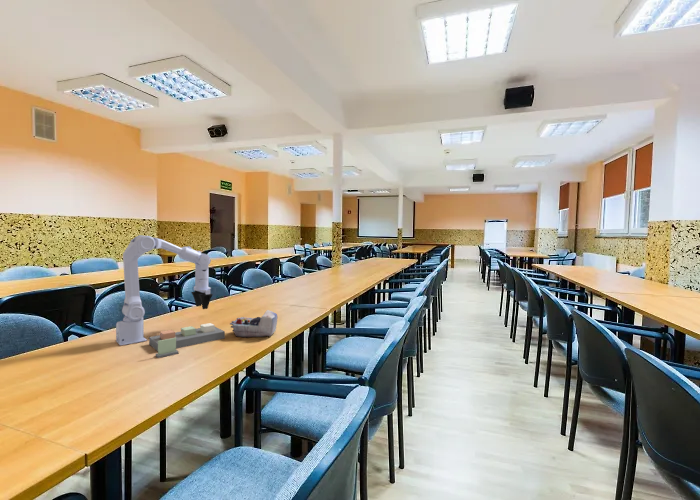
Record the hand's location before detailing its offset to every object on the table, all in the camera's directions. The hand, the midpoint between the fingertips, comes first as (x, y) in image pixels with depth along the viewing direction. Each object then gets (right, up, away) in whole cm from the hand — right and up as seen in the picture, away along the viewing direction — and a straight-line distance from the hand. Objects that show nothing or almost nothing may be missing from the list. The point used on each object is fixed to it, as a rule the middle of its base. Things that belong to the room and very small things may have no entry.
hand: (201, 307), depth 160 cm
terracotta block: (-3, -10, -24) cm, 26 cm away
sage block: (+2, -10, -18) cm, 21 cm away
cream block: (+8, -9, -13) cm, 18 cm away
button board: (+2, -11, -18) cm, 21 cm away
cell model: (+27, -12, -6) cm, 30 cm away
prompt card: (+2, -12, -34) cm, 36 cm away
